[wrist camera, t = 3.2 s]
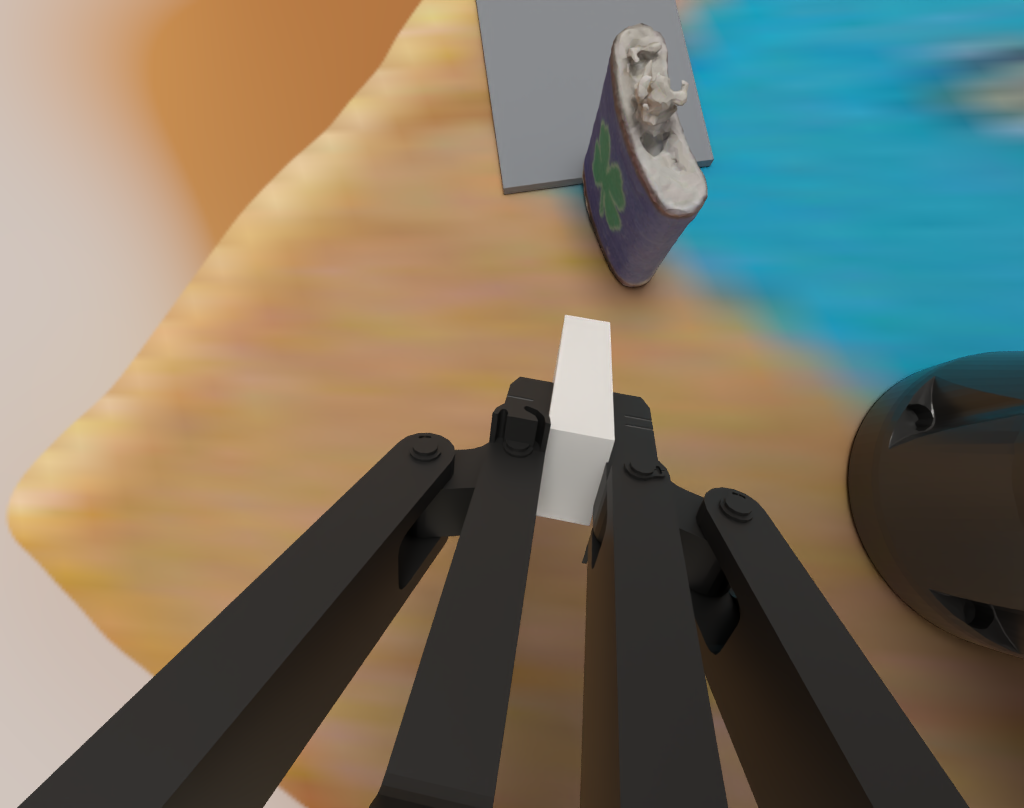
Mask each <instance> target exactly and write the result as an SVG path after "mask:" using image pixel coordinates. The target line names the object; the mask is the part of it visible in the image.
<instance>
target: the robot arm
mask: <svg viewBox="0 0 1024 808" xmlns="http://www.w3.org/2000/svg"><path fill="white" fill-rule="evenodd" d="M651 420H652V419H651V413H650V408H649V407H648V406H647V404H646V403H645V402H644V400H643V399H642V398H641V397H636V396H631V395H625V394H620V393H614V392H613V386H612V361H611V336H610V322H604V321H599V320H593V319H587V318H581V317H575V316H569V315H565V319H564V324H563V330H562V335H561V340H560V345H559V350H558V356H557V361H556V366H555V371H554V377H553V382H546V381H541V380H535V379H530V378H524V377H519V378H518V379H517V380H516V381H514V382H513V383H512V384H511V385H510V388H509V391H508V394H507V398H506V401H505V403H504V404H502V405H500V406H499V407H497V408H496V409H495V411H494V412H493V414H492V423H491V431H490V440H489V443H487V444H486V445H484V446H482V447H478V448H475V449H467V450H454V446H453V445H452V443H451V442H450V441H449V440H448V439H446V438H444V437H442V436H440V435H436V434H432V433H417V434H414V435H410V436H407V437H406V438H404V439H403V440H401V441H400V442H399V443H397V444H396V445H395V446H394V447H393V448H392V449H391V450H390V451H389V452H388V453H387V454H386V455H385V456H384V457H383V458H382V459H381V460H380V461H379V462H378V463H377V464H376V465H375V466H373V467H372V468H371V469H370V470H369V471H368V472H367V473H366V474H365V475H364V476H363V477H362V478H361V479H360V480H359V481H358V482H357V483H356V484H355V485H354V486H353V487H352V488H350V489H349V490H348V491H347V492H346V493H345V494H344V495H343V496H342V497H341V498H340V499H339V500H338V501H337V502H336V503H335V504H334V505H333V506H332V507H331V508H330V509H329V510H328V511H326V512H325V513H324V514H323V515H322V516H321V517H320V518H319V519H318V520H317V521H316V522H315V523H314V524H313V525H312V526H311V527H310V528H309V529H308V530H307V531H306V532H305V533H304V534H302V535H301V536H300V537H299V538H298V539H297V540H296V541H295V542H294V543H293V544H292V545H291V546H290V547H289V548H288V549H287V550H286V551H285V552H284V553H283V554H282V555H281V556H279V557H278V558H277V559H276V560H275V561H274V562H273V563H272V564H271V565H270V566H269V567H268V568H267V569H266V570H265V571H264V572H263V573H262V574H261V575H260V576H259V577H258V578H257V579H255V580H254V581H253V582H252V583H251V584H250V585H249V586H248V587H247V588H246V589H245V590H244V591H243V592H242V593H241V594H240V595H239V596H238V597H237V598H236V599H235V600H234V601H232V602H231V603H230V604H229V605H228V606H227V607H226V608H225V609H224V610H223V611H222V612H221V613H220V614H219V615H218V616H217V617H216V618H215V619H214V620H213V621H212V622H211V623H210V624H208V625H207V626H206V627H205V628H204V629H203V630H202V631H201V632H200V633H199V634H198V635H197V636H196V637H195V638H194V639H193V640H192V641H191V642H190V643H189V644H188V645H187V646H186V647H184V648H183V649H182V650H181V651H180V652H179V653H178V654H177V655H176V656H175V657H174V658H173V659H172V660H171V661H170V662H169V663H168V664H167V665H166V666H165V667H164V668H163V669H161V670H160V671H159V672H158V673H157V674H156V675H155V676H154V677H153V678H152V679H151V680H150V681H149V682H148V683H147V684H146V685H145V686H144V687H143V688H142V689H141V690H140V691H139V692H138V693H137V694H135V696H133V697H132V698H131V699H130V700H129V701H128V702H127V703H126V704H125V705H124V706H123V707H122V708H121V709H120V710H119V711H118V712H117V713H116V714H115V715H113V716H112V717H111V718H110V719H109V720H108V721H107V722H106V723H105V724H104V725H103V726H102V727H101V728H100V729H99V730H98V731H97V732H96V733H95V734H94V735H93V736H92V737H90V738H89V739H88V740H87V741H86V742H85V743H84V744H83V745H82V746H81V747H80V748H79V749H78V750H77V751H76V752H75V753H74V754H73V755H72V756H71V757H70V758H69V759H68V760H67V761H65V763H63V764H62V765H61V766H60V767H59V768H58V769H57V770H56V771H55V772H54V773H53V774H52V775H51V776H50V777H49V778H48V779H47V780H46V781H45V782H44V783H42V785H40V787H38V788H37V789H36V790H35V791H34V792H33V793H32V794H31V795H30V796H29V797H28V798H27V799H26V800H25V801H24V802H23V803H22V804H21V805H20V806H18V807H17V808H263V807H264V805H265V804H266V802H267V801H268V799H269V798H270V797H271V795H272V794H273V792H274V791H275V789H276V788H277V786H278V785H279V783H280V782H281V781H282V779H283V778H284V776H285V775H286V773H287V772H288V770H289V769H290V768H291V766H292V765H293V763H294V762H295V760H296V759H297V757H298V756H299V755H300V753H301V752H302V750H303V749H304V747H305V746H306V744H307V743H308V742H309V740H310V739H311V737H312V736H313V734H314V733H315V731H316V730H317V728H318V727H319V726H320V724H321V723H322V721H323V720H324V718H325V717H326V715H327V714H328V713H329V711H330V710H331V708H332V707H333V705H334V704H335V702H336V701H337V700H338V698H339V697H340V695H341V694H342V692H343V691H344V689H345V688H346V687H347V685H348V684H349V682H350V681H351V679H352V678H353V676H354V675H355V674H356V672H357V671H358V669H359V668H360V666H361V665H362V663H363V662H364V660H365V659H366V658H367V656H368V655H369V653H370V652H371V650H372V649H373V647H374V646H375V645H376V643H377V642H378V640H379V639H380V637H381V636H382V634H383V633H384V632H385V630H386V629H387V627H388V626H389V624H390V623H391V621H392V620H393V619H394V617H395V616H396V614H397V613H398V611H399V610H400V608H401V607H402V606H403V604H404V603H405V601H406V600H407V598H408V597H409V595H410V594H411V592H412V591H413V590H414V588H415V587H416V585H417V584H418V582H419V581H420V579H421V578H422V577H423V575H424V574H425V572H426V571H427V569H428V568H429V566H430V565H431V564H432V562H433V561H434V559H435V558H436V556H437V555H438V553H439V552H440V551H441V549H442V548H443V546H444V545H445V543H446V542H447V539H448V537H449V536H459V535H460V537H459V540H458V543H457V547H456V550H455V553H454V556H453V559H452V563H451V566H450V569H449V572H448V575H447V579H446V582H445V585H444V588H443V591H442V595H441V598H440V601H439V604H438V607H437V611H436V614H435V617H434V620H433V623H432V627H431V630H430V633H429V636H428V639H427V642H426V646H425V649H424V652H423V655H422V658H421V662H420V665H419V668H418V671H417V674H416V678H415V681H414V684H413V687H412V690H411V694H410V697H409V700H408V703H407V706H406V710H405V713H404V716H403V719H402V722H401V726H400V729H399V732H398V735H397V738H396V741H395V745H394V748H393V751H392V754H391V757H390V761H389V764H388V767H387V770H386V773H385V776H384V779H383V782H382V785H381V787H380V790H379V792H378V794H377V796H376V797H375V799H374V800H373V802H372V803H371V805H370V806H369V808H493V802H494V795H495V788H496V782H497V775H498V768H499V761H500V755H501V748H502V741H503V735H504V728H505V721H506V714H507V708H508V701H509V694H510V687H511V681H512V674H513V667H514V660H515V654H516V647H517V640H518V634H519V627H520V620H521V613H522V607H523V600H524V593H525V586H526V580H527V573H528V566H529V559H530V553H531V546H532V539H533V533H534V526H535V519H536V515H537V516H542V517H547V518H552V519H557V520H562V521H567V522H572V523H577V524H582V525H587V526H589V525H590V522H591V518H592V515H593V528H592V532H591V535H590V538H589V541H588V545H587V548H586V551H585V555H584V558H583V561H582V563H585V564H587V561H588V566H587V598H586V630H585V663H584V695H583V727H582V759H581V791H580V808H728V804H727V799H726V793H725V787H724V782H723V776H722V770H721V765H720V759H719V753H718V747H717V742H716V736H715V730H714V725H713V719H712V713H711V708H710V702H709V696H708V691H707V685H706V679H705V676H706V678H707V681H708V683H709V686H710V688H711V691H712V693H713V695H714V698H715V700H716V703H717V705H718V708H719V710H720V713H721V715H722V718H723V720H724V723H725V725H726V728H727V730H728V733H729V735H730V738H731V740H732V743H733V745H734V748H735V750H736V753H737V755H738V758H739V760H740V763H741V765H742V768H743V770H744V773H745V775H746V778H747V780H748V782H749V785H750V787H751V790H752V792H753V795H754V797H755V800H756V802H757V805H758V807H759V808H969V806H968V805H967V803H966V802H965V800H964V799H963V798H962V796H961V795H960V793H959V792H958V790H957V789H956V787H955V786H954V784H953V783H952V782H951V780H950V779H949V777H948V776H947V774H946V773H945V771H944V770H943V769H942V767H941V766H940V764H939V763H938V761H937V760H936V758H935V757H934V755H933V754H932V753H931V751H930V750H929V748H928V747H927V745H926V744H925V742H924V741H923V739H922V738H921V737H920V735H919V734H918V732H917V731H916V729H915V728H914V726H913V725H912V724H911V722H910V721H909V719H908V718H907V716H906V715H905V713H904V712H903V710H902V709H901V708H900V706H899V705H898V703H897V702H896V700H895V699H894V697H893V696H892V694H891V693H890V692H889V690H888V689H887V687H886V686H885V684H884V683H883V681H882V680H881V679H880V677H879V676H878V674H877V673H876V671H875V670H874V668H873V667H872V665H871V664H870V663H869V661H868V660H867V658H866V657H865V655H864V654H863V652H862V651H861V649H860V648H859V647H858V645H857V644H856V642H855V641H854V639H853V638H852V636H851V635H850V634H849V632H848V631H847V629H846V628H845V626H844V625H843V623H842V622H841V620H840V619H839V618H838V616H837V615H836V613H835V612H834V610H833V609H832V607H831V606H830V605H829V603H828V602H827V600H826V599H825V597H824V596H823V594H822V593H821V591H820V590H819V589H818V587H817V586H816V584H815V583H814V581H813V580H812V578H811V577H810V575H809V574H808V573H807V571H806V570H805V568H804V567H803V565H802V564H801V562H800V561H799V560H798V558H797V557H796V555H795V554H794V552H793V551H792V549H791V548H790V546H789V545H788V544H787V542H786V541H785V539H784V538H783V536H782V535H781V533H780V532H779V530H778V529H777V528H776V526H775V525H774V523H773V522H772V520H771V519H770V517H769V516H768V515H767V513H766V512H765V510H764V509H763V508H762V507H761V506H760V505H759V504H758V503H757V502H756V501H755V500H754V499H752V498H751V497H749V496H748V495H746V494H744V493H742V492H739V491H737V490H734V489H729V488H723V487H722V488H714V489H711V490H710V491H708V492H707V493H706V494H705V497H704V498H703V497H701V496H699V495H696V494H694V493H691V492H689V491H687V490H685V489H683V488H681V487H679V486H677V485H675V484H674V483H673V482H671V480H670V475H669V473H668V471H667V469H666V468H665V467H664V466H663V465H662V464H661V463H660V462H659V461H658V458H657V451H656V445H655V439H654V432H653V426H652V422H651ZM849 497H850V504H851V509H852V514H853V518H854V521H855V525H856V528H857V531H858V533H859V536H860V539H861V541H862V543H863V545H864V547H865V550H866V551H867V553H868V555H869V557H870V559H871V560H872V562H873V564H874V565H875V567H876V568H877V570H878V571H879V573H880V574H881V576H882V577H883V578H884V580H885V581H886V582H887V583H888V584H889V586H890V587H891V588H892V589H893V590H894V591H895V592H896V594H897V595H898V596H899V597H900V598H901V599H902V600H903V601H904V602H906V603H907V604H908V605H909V606H910V607H911V608H912V609H913V610H915V611H916V612H917V613H918V614H920V615H921V616H922V617H924V618H925V619H927V620H928V621H929V622H931V623H933V624H934V625H936V626H937V627H939V628H941V629H943V630H944V631H946V632H948V633H950V634H952V635H954V636H957V637H959V638H961V639H963V640H966V641H969V642H972V643H974V644H977V645H981V646H984V647H987V648H990V649H993V650H996V651H999V652H1003V653H1006V654H1009V655H1012V656H1016V657H1019V658H1023V659H1024V351H1001V352H989V353H982V354H976V355H970V356H966V357H962V358H958V359H955V360H952V361H949V362H946V363H943V364H940V365H937V366H934V367H931V368H928V369H925V370H922V371H919V372H917V373H915V374H913V375H911V376H909V377H907V378H905V379H903V380H902V381H900V382H899V383H897V384H896V385H894V386H893V387H892V388H890V389H889V390H888V391H887V392H886V393H885V394H884V395H883V396H882V397H881V398H880V399H879V400H878V401H877V402H876V403H875V404H874V406H873V407H872V408H871V410H870V411H869V412H868V414H867V416H866V417H865V419H864V421H863V422H862V424H861V426H860V428H859V431H858V433H857V435H856V438H855V441H854V444H853V448H852V452H851V457H850V464H849ZM704 673H705V674H704Z"/></svg>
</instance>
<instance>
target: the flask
mask: <svg viewBox="0 0 1024 808" xmlns="http://www.w3.org/2000/svg"><path fill="white" fill-rule="evenodd" d="M688 87H689V84H688V82H686V81H684V80H682V86H681V90H679V91H678V92H677V91H673V90H672V89H671V88H670V78H669V77H668V50H667V47H666V43H665V39H664V38H663V36H662V35H661V33H660V32H657V31H654V30H653V28H652V27H651V26H648V25H645V24H643V23H639V24H636V25H633V26H628V27H627V28H625V29H624V30H623V31H621V32H620V33H619V34H618V35H617V36H616V37H615V39H614V41H613V45H612V47H611V54H610V57H609V63H608V67H607V73H606V77H605V80H604V84H603V89H602V94H601V99H600V103H599V108H598V111H597V114H596V119H595V122H594V125H593V130H592V135H591V138H590V143H589V146H588V150H587V153H586V155H585V159H584V163H583V172H582V179H583V185H584V196H585V197H586V198H585V199H586V205H587V211H588V213H589V218H590V221H591V223H592V225H593V226H594V229H595V233H596V236H597V238H598V241H599V244H600V248H602V251H603V255H604V256H605V259H606V261H607V262H608V266H609V268H610V270H611V271H612V273H613V274H614V275H615V277H616V278H617V280H618V281H620V282H621V283H622V284H623V285H626V286H629V287H636V286H641V285H644V284H645V283H647V282H649V281H650V279H651V278H652V276H653V275H654V274H655V272H656V270H657V268H658V267H659V265H660V264H661V262H662V261H663V259H664V258H665V256H666V255H667V253H668V252H669V251H670V249H671V247H672V246H673V245H674V243H675V242H676V241H677V239H678V237H679V236H680V235H681V234H682V232H683V231H684V229H685V228H686V227H687V225H688V224H689V223H690V222H691V221H692V220H693V219H694V218H695V217H696V215H697V213H698V212H699V210H700V209H701V208H702V206H703V204H704V202H705V200H706V199H707V184H706V179H705V176H704V175H703V173H702V171H701V169H700V168H699V166H698V164H697V161H696V159H695V157H694V155H693V154H692V152H691V150H690V148H689V145H688V143H687V140H686V136H685V135H684V133H683V128H682V126H681V123H680V120H679V117H678V114H677V105H678V106H683V105H684V104H685V103H686V101H687V90H688ZM675 104H676V105H675Z"/></svg>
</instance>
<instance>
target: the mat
mask: <svg viewBox="0 0 1024 808" xmlns="http://www.w3.org/2000/svg"><path fill="white" fill-rule="evenodd" d="M476 3H477V10H478V17H479V24H480V31H481V38H482V45H483V52H484V59H485V66H486V72H487V79H488V86H489V93H490V100H491V107H492V114H493V121H494V128H495V135H496V142H497V149H498V156H499V162H500V169H501V176H502V183H503V190H504V194H510V193H517V192H524V191H532V190H539V189H546V188H553V187H561V186H568V185H575V184H582V183H583V179H582V172H583V163H584V159H585V155H586V153H587V150H588V146H589V143H590V138H591V135H592V130H593V125H594V122H595V119H596V114H597V111H598V108H599V103H600V99H601V94H602V89H603V84H604V80H605V77H606V73H607V67H608V63H609V57H610V54H611V47H612V45H613V41H614V39H615V37H616V36H617V35H618V34H619V33H620V32H621V31H623V30H624V29H625V28H627V27H628V26H633V25H636V24H639V23H643V24H645V25H648V26H651V27H652V28H653V30H654V31H657V32H660V33H661V35H662V36H663V38H664V39H665V43H666V47H667V50H668V77H669V78H670V88H671V89H672V90H673V91H677V92H678V91H679V90H681V86H682V80H684V81H686V82H688V84H689V87H688V90H687V101H686V103H685V104H684V105H683V106H678V105H677V114H678V117H679V120H680V123H681V126H682V128H683V133H684V135H685V136H686V140H687V143H688V145H689V148H690V150H691V152H692V154H693V155H694V157H695V159H696V161H697V164H698V166H699V167H705V166H710V165H711V163H712V161H713V160H714V159H713V154H712V150H711V146H710V142H709V138H708V134H707V130H706V126H705V122H704V117H703V113H702V109H701V105H700V101H699V97H698V93H697V89H696V84H695V80H694V76H693V72H692V68H691V64H690V60H689V56H688V52H687V47H686V43H685V39H684V35H683V31H682V27H681V23H680V19H679V14H678V10H677V6H676V2H675V0H476ZM675 105H676V104H675Z"/></svg>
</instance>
